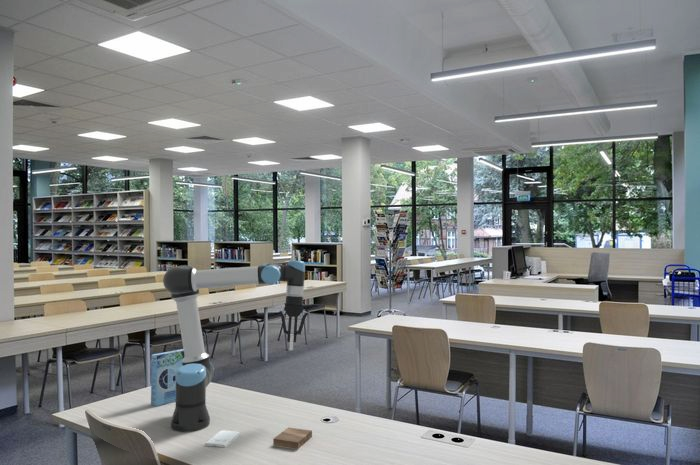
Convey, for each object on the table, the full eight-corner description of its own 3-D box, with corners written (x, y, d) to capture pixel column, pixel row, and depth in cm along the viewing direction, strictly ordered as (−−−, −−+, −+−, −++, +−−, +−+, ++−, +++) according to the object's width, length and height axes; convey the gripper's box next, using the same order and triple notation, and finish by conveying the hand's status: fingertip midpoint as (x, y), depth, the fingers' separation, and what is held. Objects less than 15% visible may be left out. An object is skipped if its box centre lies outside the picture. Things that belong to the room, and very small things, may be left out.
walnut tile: (311, 438, 188) (298, 450, 177) (288, 435, 192) (273, 446, 181) (311, 430, 188) (298, 442, 177) (288, 427, 192) (273, 438, 181)
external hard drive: (239, 436, 191) (225, 449, 179) (220, 434, 193) (204, 446, 181) (239, 431, 191) (225, 444, 179) (220, 430, 193) (204, 442, 181)
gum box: (156, 407, 223) (156, 356, 224) (150, 404, 226) (150, 354, 227) (193, 396, 238) (194, 349, 239) (187, 394, 241) (187, 347, 242)
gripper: (309, 296, 223) (305, 349, 221) (280, 294, 221) (276, 347, 219) (309, 296, 215) (306, 351, 213) (279, 295, 214) (275, 350, 212)
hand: (291, 349), depth 216 cm, fingers closed
